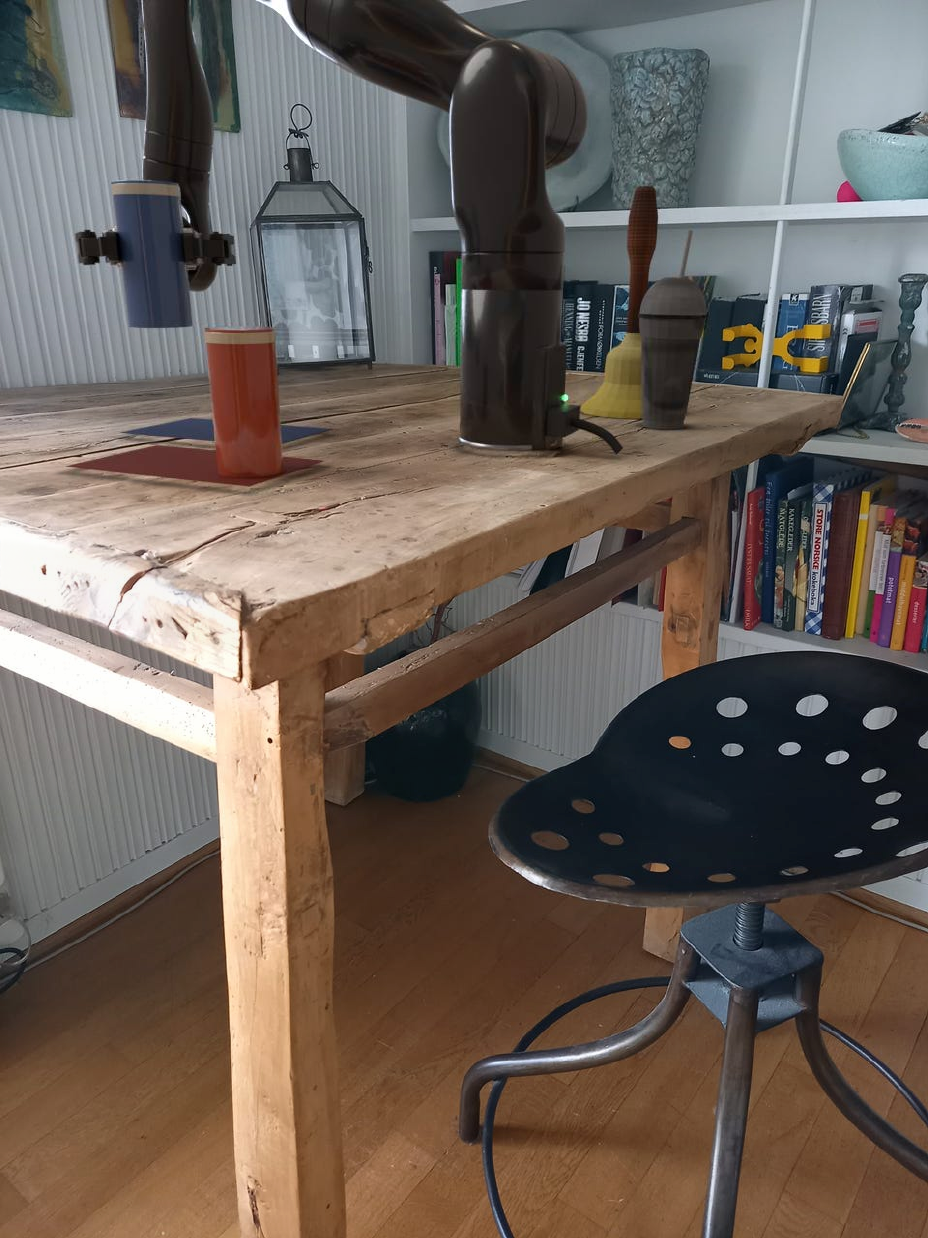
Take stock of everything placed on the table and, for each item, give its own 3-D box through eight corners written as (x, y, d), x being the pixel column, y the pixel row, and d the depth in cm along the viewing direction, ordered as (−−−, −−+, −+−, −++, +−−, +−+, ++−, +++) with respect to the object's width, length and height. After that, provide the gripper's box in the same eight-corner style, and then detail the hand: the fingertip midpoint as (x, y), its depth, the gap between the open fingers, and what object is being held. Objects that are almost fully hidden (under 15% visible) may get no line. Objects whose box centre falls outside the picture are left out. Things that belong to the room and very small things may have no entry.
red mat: (325, 467, 77) (325, 460, 77) (249, 493, 68) (249, 485, 68) (157, 451, 84) (156, 444, 83) (66, 473, 74) (65, 465, 74)
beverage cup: (646, 419, 105) (661, 231, 98) (706, 425, 101) (726, 230, 94) (618, 426, 99) (631, 229, 92) (680, 433, 95) (699, 227, 88)
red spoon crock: (297, 468, 74) (288, 327, 70) (259, 480, 69) (248, 330, 65) (243, 462, 76) (232, 325, 72) (203, 474, 71) (188, 328, 67)
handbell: (676, 420, 104) (698, 179, 95) (570, 415, 107) (582, 182, 98) (684, 407, 115) (704, 190, 106) (588, 402, 118) (599, 192, 109)
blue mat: (333, 434, 93) (333, 428, 93) (272, 452, 84) (272, 445, 83) (191, 423, 99) (191, 417, 99) (120, 438, 90) (119, 432, 90)
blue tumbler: (206, 325, 78) (193, 184, 74) (165, 328, 73) (148, 178, 69) (157, 323, 80) (141, 186, 76) (114, 326, 75) (95, 181, 71)
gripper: (76, 206, 84) (46, 192, 69) (234, 209, 88) (238, 196, 72) (88, 292, 87) (61, 296, 72) (241, 291, 90) (246, 296, 75)
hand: (150, 246), depth 72 cm, fingers closed on blue tumbler, 5 cm apart
